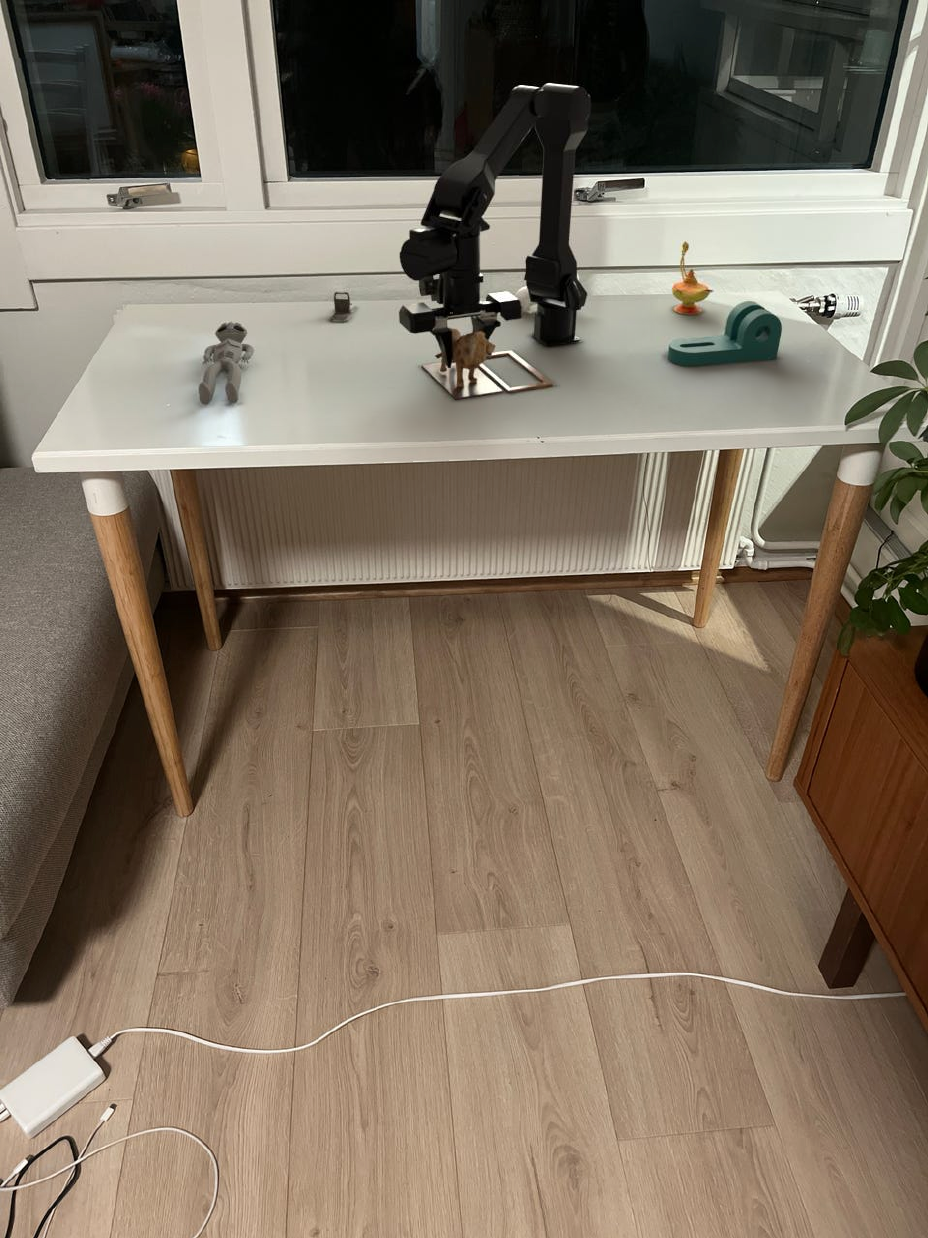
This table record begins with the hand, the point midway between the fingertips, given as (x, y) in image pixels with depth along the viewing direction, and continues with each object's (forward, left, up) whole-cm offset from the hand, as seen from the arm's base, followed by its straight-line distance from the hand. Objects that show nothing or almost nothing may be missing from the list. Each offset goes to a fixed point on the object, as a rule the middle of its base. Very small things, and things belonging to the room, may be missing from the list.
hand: (461, 365), depth 154 cm
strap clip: (+9, -38, -3) cm, 39 cm away
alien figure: (+35, -16, -3) cm, 38 cm away
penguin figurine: (-27, -25, -3) cm, 37 cm away
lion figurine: (0, 0, -2) cm, 2 cm away
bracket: (-44, +7, -3) cm, 45 cm away
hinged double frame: (-4, 0, -2) cm, 5 cm away
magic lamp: (-52, -14, -3) cm, 54 cm away
